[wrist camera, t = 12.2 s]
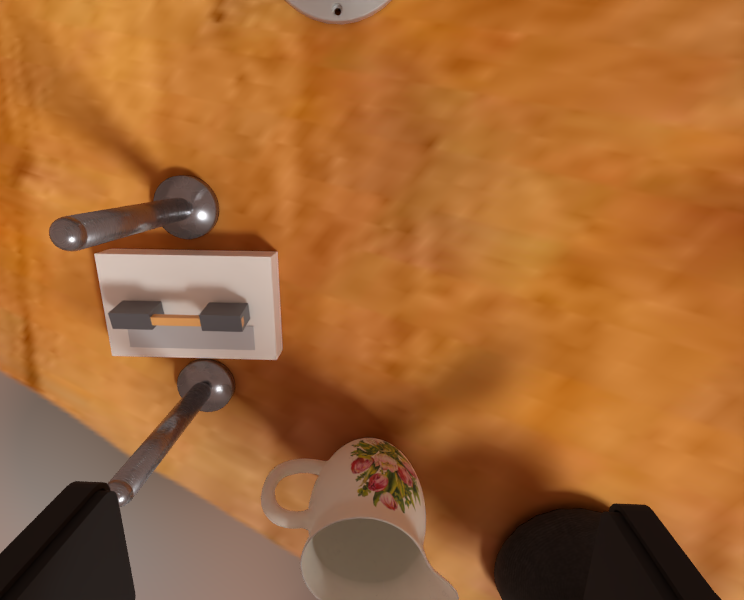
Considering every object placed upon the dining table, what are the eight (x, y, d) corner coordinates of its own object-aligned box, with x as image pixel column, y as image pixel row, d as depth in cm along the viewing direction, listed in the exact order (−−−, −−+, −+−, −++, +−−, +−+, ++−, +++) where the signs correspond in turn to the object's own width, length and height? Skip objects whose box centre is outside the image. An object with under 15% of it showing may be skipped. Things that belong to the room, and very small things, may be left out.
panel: (110, 248, 42) (93, 253, 40) (277, 251, 42) (270, 257, 39) (126, 345, 45) (111, 356, 43) (282, 349, 45) (276, 360, 42)
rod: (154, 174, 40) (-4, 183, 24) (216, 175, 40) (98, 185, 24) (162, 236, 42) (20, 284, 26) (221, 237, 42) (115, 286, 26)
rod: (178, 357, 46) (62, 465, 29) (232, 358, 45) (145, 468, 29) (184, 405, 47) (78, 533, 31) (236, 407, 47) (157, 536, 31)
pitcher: (295, 394, 46) (258, 485, 33) (457, 444, 47) (483, 552, 34) (269, 477, 50) (226, 590, 36) (421, 522, 51) (433, 648, 38)
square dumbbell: (122, 300, 41) (107, 313, 39) (248, 303, 40) (240, 315, 38) (126, 315, 42) (112, 328, 39) (250, 318, 41) (242, 331, 39)
